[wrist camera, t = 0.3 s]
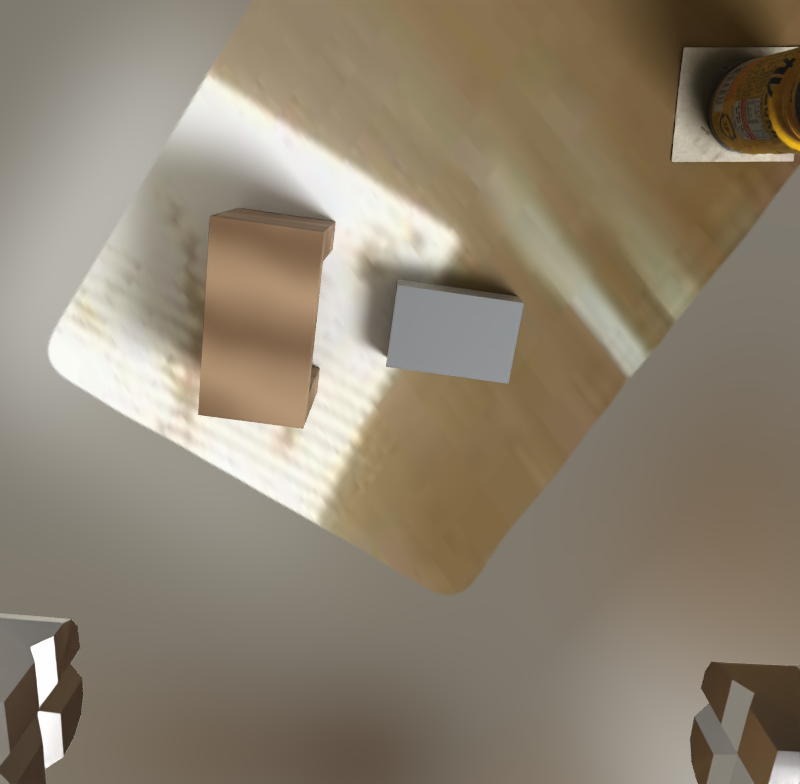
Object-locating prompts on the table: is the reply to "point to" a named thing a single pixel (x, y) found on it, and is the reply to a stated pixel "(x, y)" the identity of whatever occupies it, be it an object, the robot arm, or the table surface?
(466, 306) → the grey rectangular block
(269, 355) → the shelf
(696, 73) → the condiment
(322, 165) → the table surface
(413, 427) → the table surface
